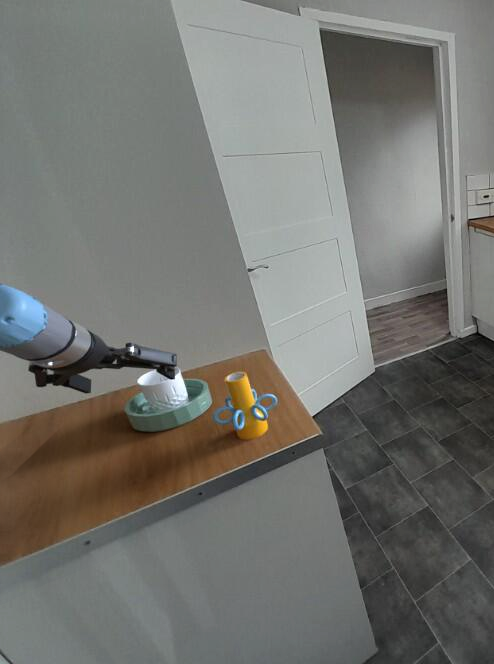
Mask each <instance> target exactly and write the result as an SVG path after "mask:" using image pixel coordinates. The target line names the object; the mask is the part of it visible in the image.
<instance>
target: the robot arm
mask: <svg viewBox="0 0 494 664" xmlns="http://www.w3.org/2000/svg"><path fill="white" fill-rule="evenodd" d="M0 351H1V352H4V353H6V354H8V355H12V356H14V357H16V358H19V359H21V360H24V361H26V362H28V369H27V370H28V372H30V373H32V374H34V378H35V379H34V380H35V386H36V387H37V388H45V387H47V385H52V386H53V387H63V388H67V389H71V390H75V391H77V392H79V393H83V394H86V395H87V394H91V393H92V379H91V378H88V377H85V376H83V375H82V374H84V373H86V372H88V371H91V370H103V369H108V370H109V369H111V370H120V369H123V368H133V369H147V370H156V372H158V373H160V374H161V375H163V376H165V377H166V378H168V379H170V380H173V379H175V367H178V364H177V363H178V362H177V353H175V352H169V351H165V350H160V349H156V348H151V347H146V346H141V345H139V344H137V343H135V342H125V347H122V348H121V347H120V348H115V347H113V346H110V345H109V346H108V345H107V344H106V343H105V341H104V340H103V338H101V337H100V336H99V335H97V334H96V333H94V332H92V331H91V330H89V329H87V328H85V327H83V326H82V325H81V324H79V323H77V322H75V321H73V320H71V319H69V318H68V317H67V316H64V315H62V314H60V313H58V312H57V311H55V310H53V309H52V308H50V307H49V306H47V305H46V304H43V303H42V302H40V300H38V299H37V298H36V297H35V296H32V295H31V294H27V293H25V292H24V291H22V290H20V289H17V288H15V287H13V286H9V285H5V284H2V283H0ZM115 361H116V363H115ZM48 370H49V371H51V372H52V374H51V373H50V374H49V372H48Z"/></svg>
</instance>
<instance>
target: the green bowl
mask: <svg viewBox="0 0 494 664" xmlns="http://www.w3.org/2000/svg"><path fill="white" fill-rule="evenodd" d="M183 381H184V384H185V387H186V391H187V394H188V398H189V401H190V402H188V403H186V404H184V405H182V406H180V407H177V408H174V409H172V410H168V411H164V412H160V413H154V412H153V410H152V409H151V407H150V406H149V404H148V402H147V400H146V399H145V397H144V395H143V393H142V391H140V392H138V393H137V394H135V395H133V396H132V397H131V398H130V399H129V400H128V401H127V402H126V403H125V404H124V408H123V410H124V414H125V415H126V417H127V420H128V422H129V424H130V426H131V427H132V428H133V429H134V430H137V431H140V432H148V433H153V432H154V433H155V432H156V433H157V432H163V431H168V430H171V429H175V428H178V427H181V426H183V425H185V424H188V423H189V422H191V421H194V420H195V419H197V418H199V417H200V416H202V415H203V414H204V413H205V412H206V411H207V410H208V409H209V408H210V407H211V405H212V404H213V396H212V394H211V390H210V387H209V384H208V383H207V382H206V381H205V380H203V379H199V378H183Z"/></svg>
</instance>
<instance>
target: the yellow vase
mask: <svg viewBox="0 0 494 664" xmlns="http://www.w3.org/2000/svg"><path fill="white" fill-rule="evenodd" d="M223 379H224V383H225V385H226V389H227V392H228V394H229V396H226V397H225V399H224V403H225V406H221V407H219V408H218V409H216V410H215V411H214V412H213V414H212V420H213V421H214V422H215V424H218V425H227V424H230V423H232V425H233V428H234V430H235V431H236V434H237V436H238V438H240V439H241V440H243V441H244V440H245V441H248V440H254V439H257V438H259V437H261V436H262V435H264V434H265V433H266V432H267V431H268V429H269V425H268V421H267V419H268V418H269V416H268V415H269V414H268V411H270V410H273V409H274V408H275V407H276V406H277V404H278V398H277V397H276V396H275V395H274V394H271V393H264V394H262V395H260V396H259V397H258V394H257V392H256V390H255V389H254V388H252V387H251V384H250V380H249V378H248V374H247V372H245V371H235V372H232V373H229V374H227V375H226V376H225V377H224V378H223ZM266 398H270V399H271V400H272V403H271V404H270V405H269V406H266V407H265V406H262V405H261V404H260V403H261V401H262V400H263V399H266ZM230 401H231V402H230ZM231 403H232V404H231ZM223 411H230V412H231V413H232V415H231V417H230V418H228V419H226V420H221V419H220V418H218V416H219V414H220V413H222V412H223Z"/></svg>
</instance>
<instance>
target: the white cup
mask: <svg viewBox="0 0 494 664" xmlns="http://www.w3.org/2000/svg"><path fill="white" fill-rule="evenodd" d="M183 379H184V378H183V375H182V371H181V369H180V368H179V367H178V366H176V367H175V379H173V380H170V379H168V378H166V377H165V376H163V375H161V374H160V373H158V372H156V369H152V370H150V371H148V372H146V373H144V374H142V375H140V376H139V377H138V379H137V380H136V384H137V386H138V387H139V389H140V392H142V393H143V395H144V397H145V399H146V400H147V402H148V404H149V406H150V407H151V409H152V410H153V412H154V413H160V412H164V411H168V410H172V409H174V408H177V407H180V406H182V405H184V404H186V403H188V402H190V401H189V398H188V394H187V391H186V387H185V384H184V381H183Z"/></svg>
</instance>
